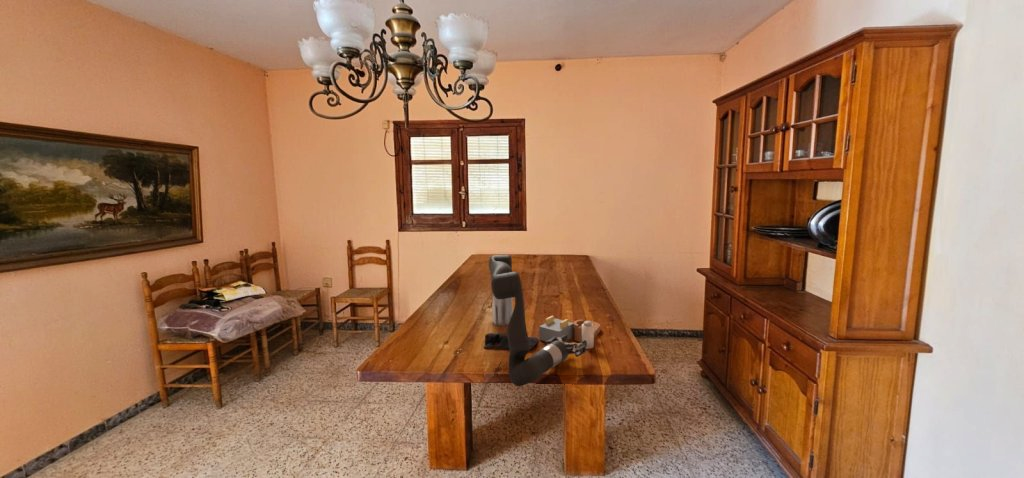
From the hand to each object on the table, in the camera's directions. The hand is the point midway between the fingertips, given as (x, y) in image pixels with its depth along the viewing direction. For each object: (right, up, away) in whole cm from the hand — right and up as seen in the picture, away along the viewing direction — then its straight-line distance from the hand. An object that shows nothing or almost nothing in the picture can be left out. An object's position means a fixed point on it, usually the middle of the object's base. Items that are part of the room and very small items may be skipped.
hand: (575, 339), depth 154 cm
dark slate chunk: (-25, -5, +13) cm, 29 cm away
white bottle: (+6, -5, +8) cm, 11 cm away
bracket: (+8, -3, +20) cm, 22 cm away
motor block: (-4, -3, +18) cm, 19 cm away
